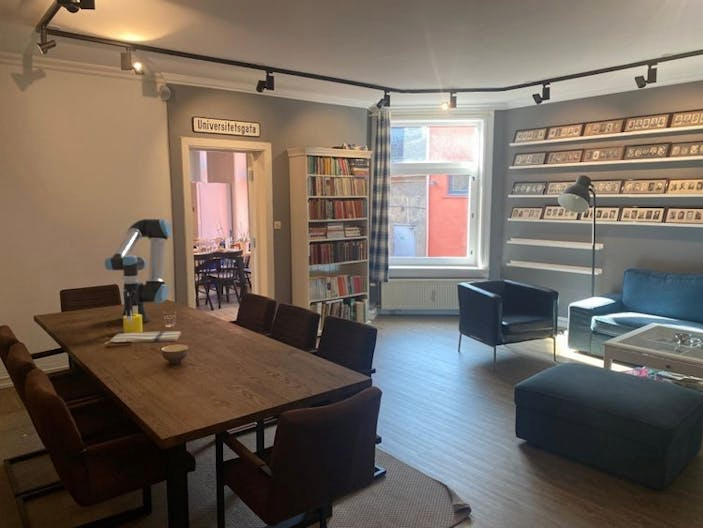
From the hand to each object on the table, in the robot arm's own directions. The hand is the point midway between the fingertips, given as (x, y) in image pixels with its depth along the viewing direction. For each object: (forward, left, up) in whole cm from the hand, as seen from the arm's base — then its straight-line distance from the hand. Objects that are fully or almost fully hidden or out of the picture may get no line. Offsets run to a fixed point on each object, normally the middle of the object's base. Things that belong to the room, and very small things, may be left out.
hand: (132, 319), depth 302 cm
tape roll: (0, 0, -8) cm, 8 cm away
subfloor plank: (+16, +11, -8) cm, 21 cm away
